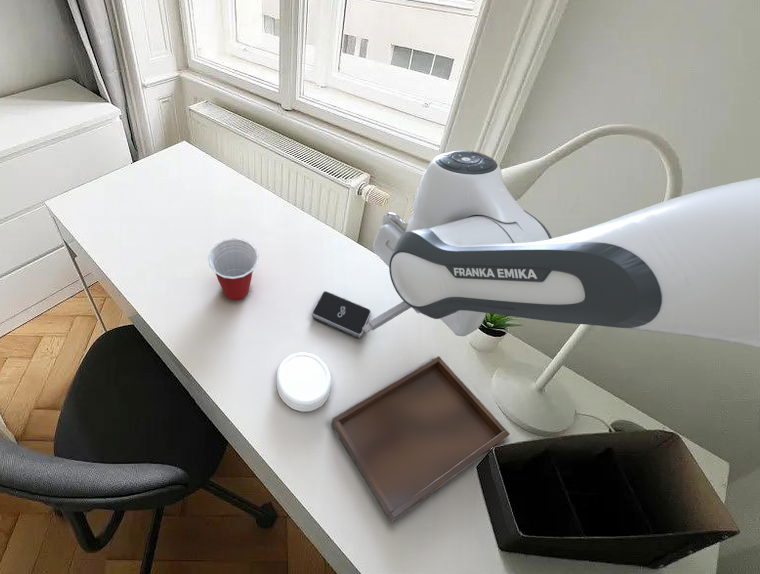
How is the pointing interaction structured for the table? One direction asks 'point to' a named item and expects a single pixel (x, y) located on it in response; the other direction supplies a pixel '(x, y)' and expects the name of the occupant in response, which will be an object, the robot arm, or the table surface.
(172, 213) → the table surface
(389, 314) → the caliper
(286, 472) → the table surface
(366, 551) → the table surface
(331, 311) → the external hard drive
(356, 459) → the tray
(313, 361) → the white round container
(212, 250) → the plastic cup
